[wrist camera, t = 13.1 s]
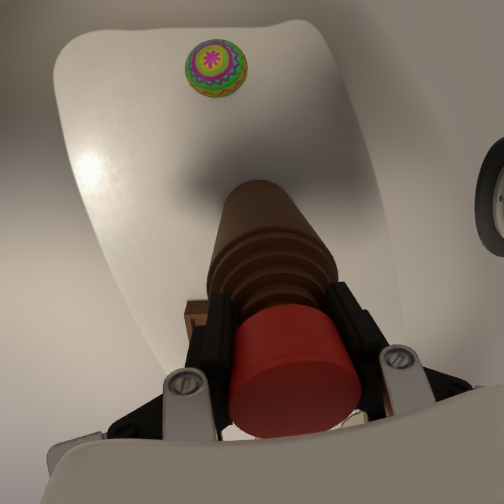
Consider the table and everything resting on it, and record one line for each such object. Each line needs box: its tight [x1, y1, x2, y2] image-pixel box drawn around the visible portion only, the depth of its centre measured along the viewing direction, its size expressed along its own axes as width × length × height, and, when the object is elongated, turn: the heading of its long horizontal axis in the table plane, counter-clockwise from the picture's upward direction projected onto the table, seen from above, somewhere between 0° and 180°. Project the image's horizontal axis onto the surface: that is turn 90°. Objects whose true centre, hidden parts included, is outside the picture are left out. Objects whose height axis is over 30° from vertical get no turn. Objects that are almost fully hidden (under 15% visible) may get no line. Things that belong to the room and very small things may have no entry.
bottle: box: [207, 180, 339, 332], centre depth 17 cm, size 6×6×20 cm
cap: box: [227, 304, 362, 439], centre depth 9 cm, size 4×4×3 cm
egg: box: [185, 39, 247, 97], centre depth 19 cm, size 5×5×6 cm
